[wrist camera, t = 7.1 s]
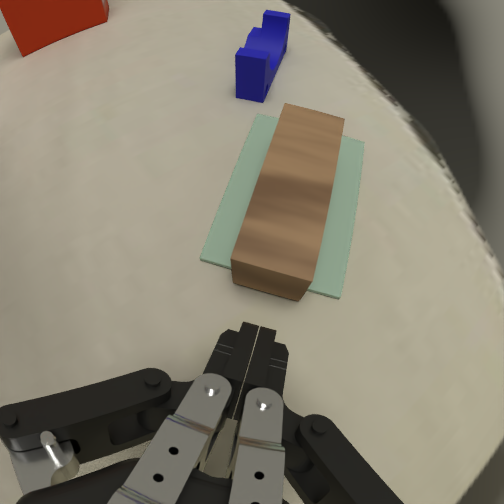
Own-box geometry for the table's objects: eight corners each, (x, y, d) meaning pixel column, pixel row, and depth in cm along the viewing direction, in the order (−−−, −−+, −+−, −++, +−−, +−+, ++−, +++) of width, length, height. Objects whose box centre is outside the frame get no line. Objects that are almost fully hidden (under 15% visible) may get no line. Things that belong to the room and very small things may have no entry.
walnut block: (312, 281, 19) (344, 118, 24) (230, 258, 19) (284, 103, 24) (299, 301, 23) (331, 156, 28) (233, 282, 24) (279, 142, 29)
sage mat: (338, 299, 24) (340, 297, 23) (200, 260, 25) (199, 257, 24) (363, 145, 30) (364, 142, 29) (257, 117, 31) (257, 113, 30)
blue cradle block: (253, 44, 36) (254, 8, 31) (286, 50, 36) (290, 13, 30) (222, 96, 32) (220, 52, 26) (262, 103, 32) (265, 59, 26)
